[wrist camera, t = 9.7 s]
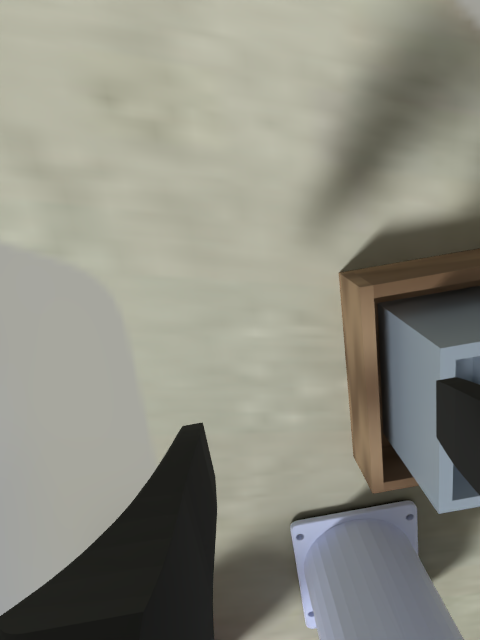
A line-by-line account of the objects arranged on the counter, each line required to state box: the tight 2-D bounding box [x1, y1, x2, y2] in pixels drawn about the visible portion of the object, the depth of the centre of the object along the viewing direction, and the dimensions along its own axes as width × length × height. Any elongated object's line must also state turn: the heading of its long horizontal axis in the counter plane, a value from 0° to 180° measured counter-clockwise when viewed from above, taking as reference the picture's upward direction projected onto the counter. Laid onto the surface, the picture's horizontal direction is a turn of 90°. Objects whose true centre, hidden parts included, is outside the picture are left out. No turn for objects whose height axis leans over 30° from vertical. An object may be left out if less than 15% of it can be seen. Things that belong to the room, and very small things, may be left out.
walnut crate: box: [339, 248, 480, 494], centre depth 21 cm, size 11×9×4 cm
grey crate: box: [378, 286, 480, 514], centre depth 19 cm, size 8×5×6 cm
